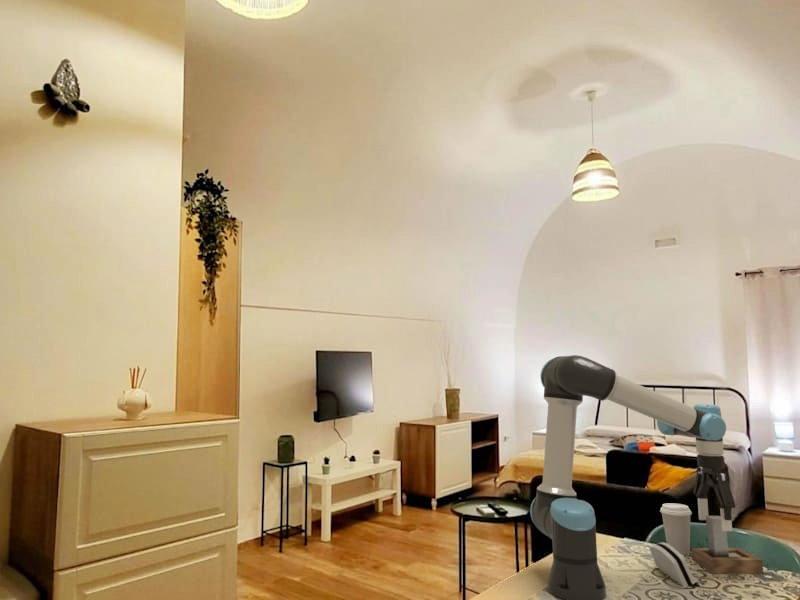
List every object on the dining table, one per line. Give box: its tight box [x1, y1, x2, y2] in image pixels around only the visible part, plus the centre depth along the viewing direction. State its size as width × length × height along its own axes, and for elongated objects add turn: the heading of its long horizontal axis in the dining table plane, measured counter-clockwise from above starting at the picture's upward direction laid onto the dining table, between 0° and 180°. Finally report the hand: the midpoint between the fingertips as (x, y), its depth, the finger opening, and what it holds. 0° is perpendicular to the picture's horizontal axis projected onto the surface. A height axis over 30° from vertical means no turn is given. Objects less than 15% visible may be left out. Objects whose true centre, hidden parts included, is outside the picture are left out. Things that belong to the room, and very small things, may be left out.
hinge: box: [649, 542, 702, 588], centre depth 165 cm, size 17×5×10 cm, turn 1°
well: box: [690, 547, 764, 575], centre depth 173 cm, size 15×12×4 cm
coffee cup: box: [659, 502, 693, 556], centre depth 187 cm, size 10×10×15 cm
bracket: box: [705, 515, 742, 557], centre depth 173 cm, size 8×4×14 cm, turn 88°
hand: (714, 525), depth 174 cm, fingers open, 13 cm apart
